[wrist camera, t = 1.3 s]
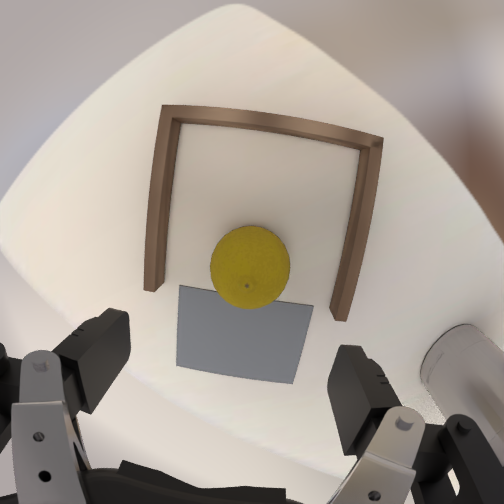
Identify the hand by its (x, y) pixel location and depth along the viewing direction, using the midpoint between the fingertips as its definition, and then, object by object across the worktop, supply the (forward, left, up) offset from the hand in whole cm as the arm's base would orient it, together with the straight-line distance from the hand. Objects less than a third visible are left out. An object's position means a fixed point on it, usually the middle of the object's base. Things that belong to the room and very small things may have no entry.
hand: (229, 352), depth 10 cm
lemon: (0, 0, -15) cm, 15 cm away
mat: (0, +8, -15) cm, 17 cm away
